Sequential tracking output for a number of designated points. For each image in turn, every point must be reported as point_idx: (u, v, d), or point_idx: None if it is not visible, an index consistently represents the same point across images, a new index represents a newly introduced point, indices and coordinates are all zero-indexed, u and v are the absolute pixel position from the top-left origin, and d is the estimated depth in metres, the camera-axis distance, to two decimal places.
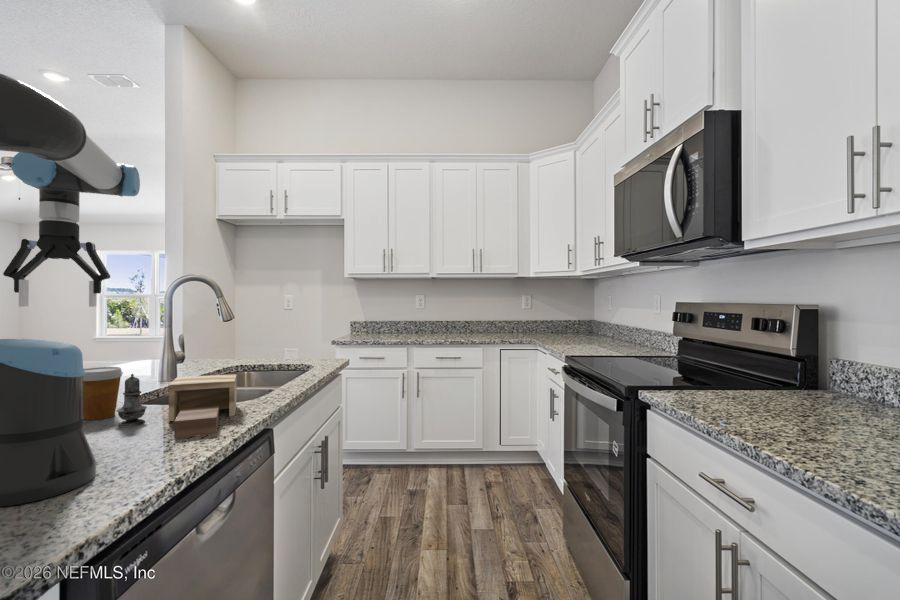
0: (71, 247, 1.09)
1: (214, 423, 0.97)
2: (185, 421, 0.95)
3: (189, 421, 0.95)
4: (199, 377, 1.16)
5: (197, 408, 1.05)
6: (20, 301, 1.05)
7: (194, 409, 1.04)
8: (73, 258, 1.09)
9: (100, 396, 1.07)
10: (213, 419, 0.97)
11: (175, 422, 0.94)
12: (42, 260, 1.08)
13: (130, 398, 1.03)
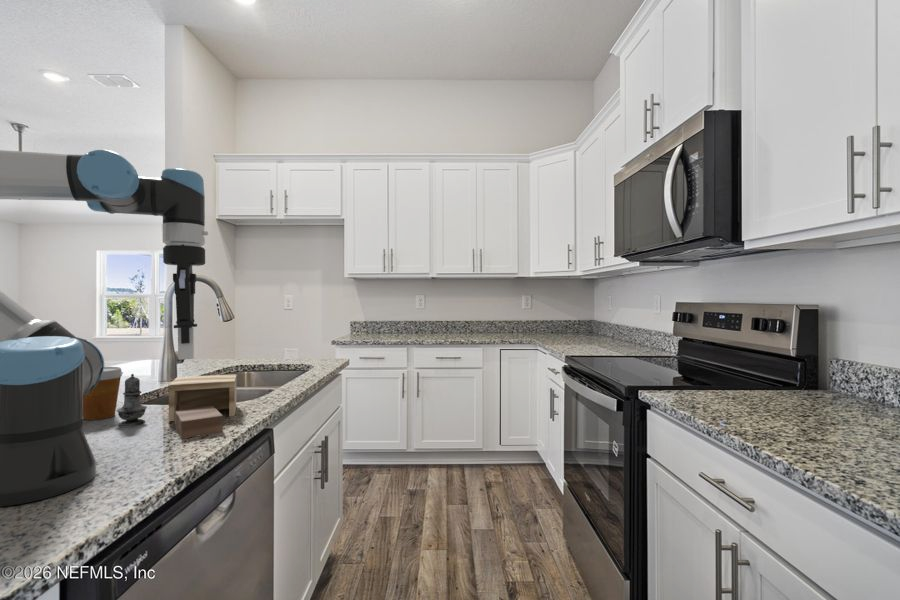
0: None
1: (220, 421, 0.99)
2: (192, 421, 0.95)
3: (196, 420, 0.96)
4: (199, 377, 1.16)
5: (192, 409, 1.04)
6: None
7: (190, 410, 1.04)
8: (175, 293, 0.89)
9: (100, 396, 1.07)
10: (219, 418, 0.99)
11: (182, 422, 0.94)
12: None
13: (130, 398, 1.03)
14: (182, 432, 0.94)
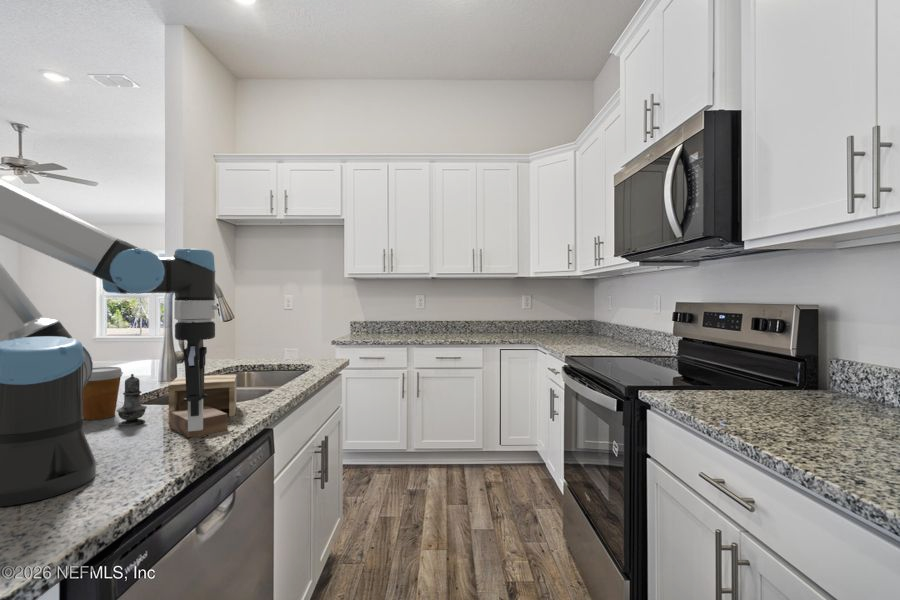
0: None
1: (225, 419, 1.00)
2: None
3: (203, 419, 0.97)
4: None
5: None
6: None
7: (186, 410, 1.03)
8: None
9: (100, 396, 1.07)
10: (224, 416, 1.00)
11: None
12: None
13: (130, 398, 1.03)
14: (190, 431, 0.95)
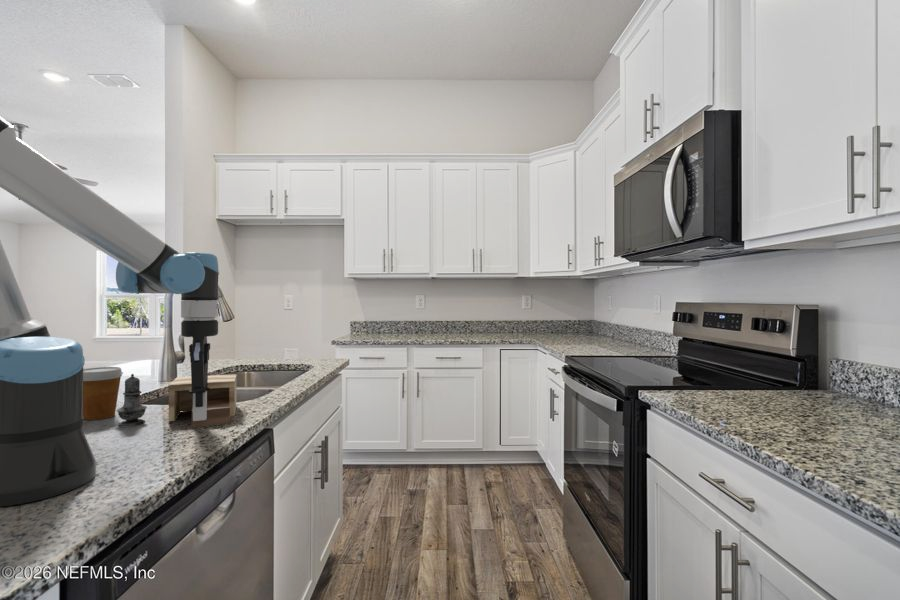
0: None
1: (228, 413, 1.06)
2: None
3: None
4: None
5: (209, 400, 1.13)
6: None
7: None
8: (191, 362, 1.00)
9: (100, 396, 1.07)
10: (227, 409, 1.06)
11: (192, 412, 1.02)
12: None
13: (130, 398, 1.03)
14: (192, 421, 1.02)
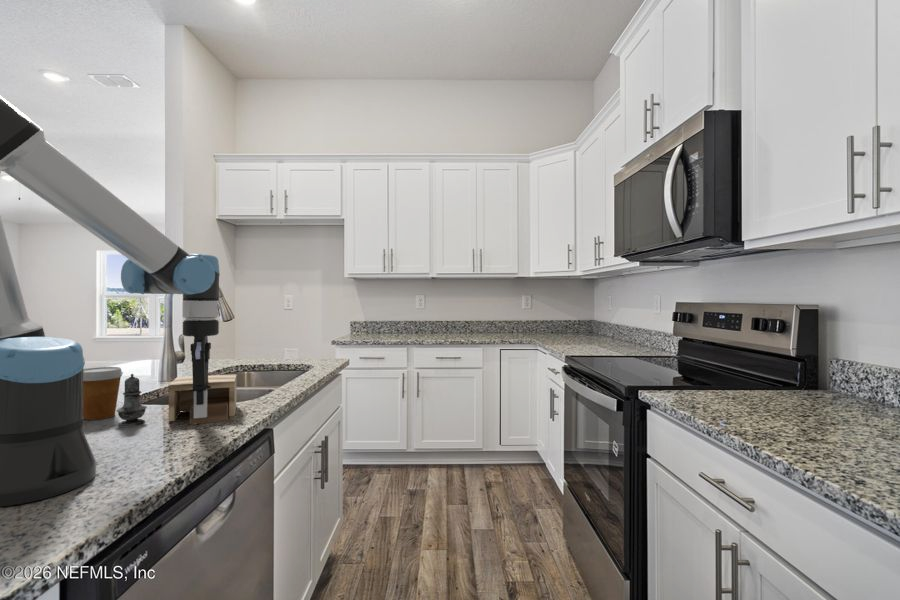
0: None
1: (225, 411, 1.07)
2: None
3: None
4: None
5: (211, 398, 1.16)
6: None
7: (208, 399, 1.15)
8: None
9: (100, 396, 1.07)
10: (224, 408, 1.07)
11: (190, 410, 1.05)
12: None
13: (129, 398, 1.03)
14: (190, 419, 1.05)
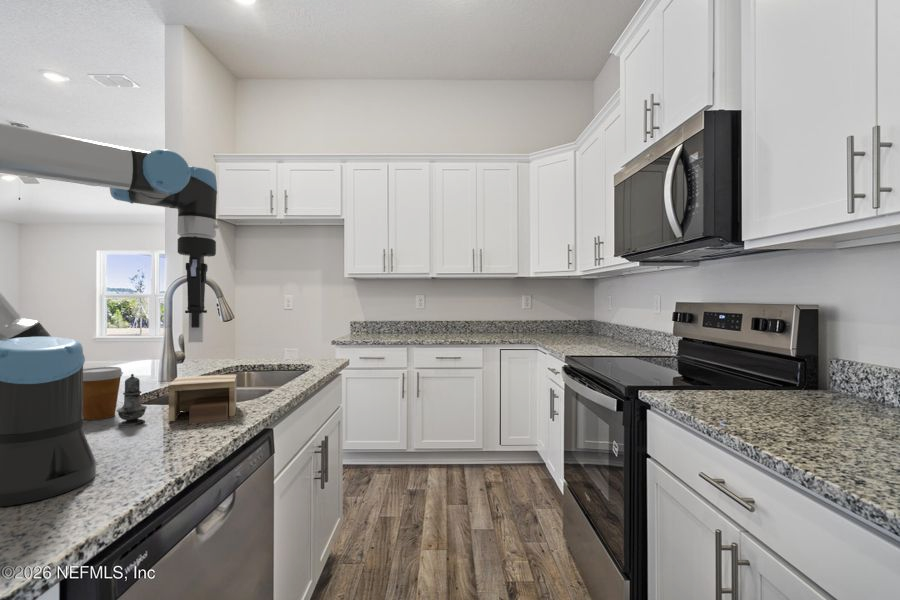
0: None
1: (224, 411, 1.07)
2: (199, 409, 1.05)
3: (202, 409, 1.06)
4: (199, 377, 1.16)
5: (211, 398, 1.16)
6: None
7: (208, 399, 1.15)
8: None
9: (100, 396, 1.07)
10: (223, 408, 1.07)
11: (190, 409, 1.05)
12: None
13: (130, 398, 1.03)
14: (190, 418, 1.05)
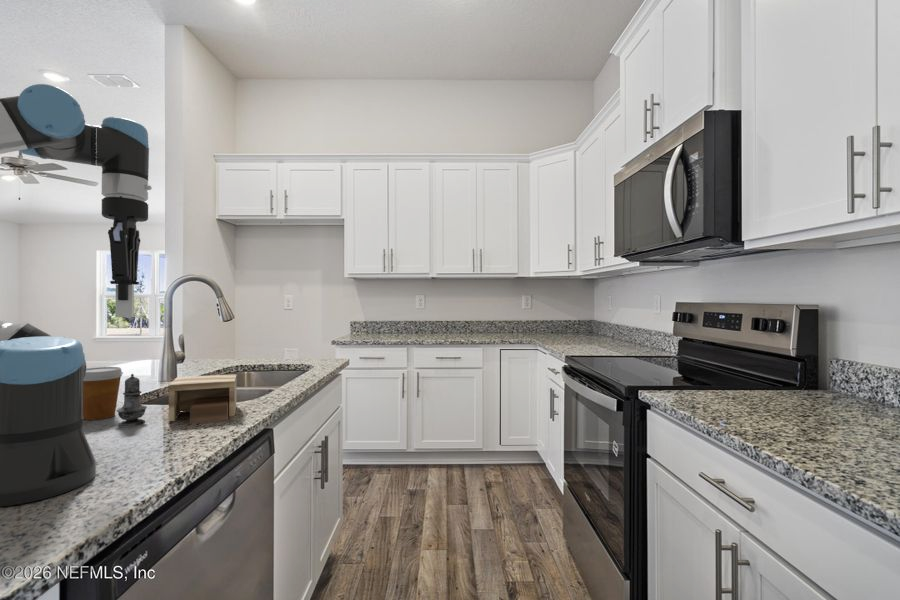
0: None
1: (225, 411, 1.08)
2: (199, 409, 1.05)
3: (203, 409, 1.06)
4: (199, 377, 1.16)
5: (211, 398, 1.16)
6: None
7: (208, 399, 1.15)
8: None
9: (100, 396, 1.07)
10: (224, 408, 1.08)
11: (190, 409, 1.05)
12: None
13: (130, 398, 1.03)
14: (190, 418, 1.05)
